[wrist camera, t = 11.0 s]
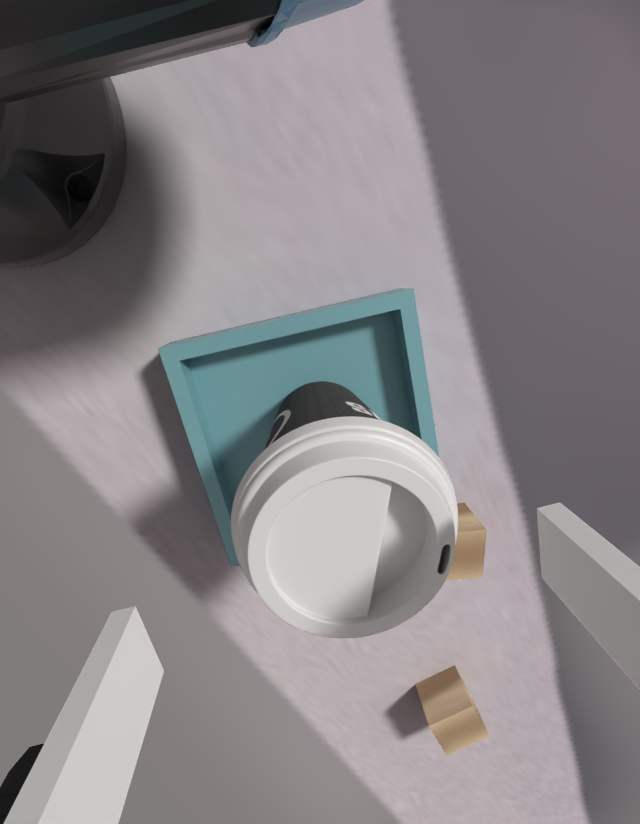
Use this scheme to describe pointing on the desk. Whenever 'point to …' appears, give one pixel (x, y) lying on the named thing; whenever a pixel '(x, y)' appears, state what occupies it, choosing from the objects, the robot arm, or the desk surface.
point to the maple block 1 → (468, 546)
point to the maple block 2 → (451, 711)
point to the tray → (293, 381)
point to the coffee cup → (343, 517)
